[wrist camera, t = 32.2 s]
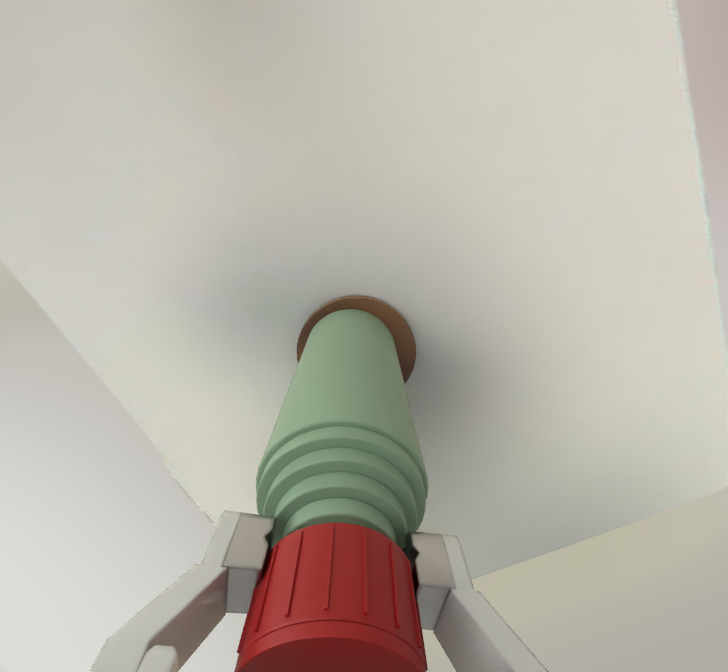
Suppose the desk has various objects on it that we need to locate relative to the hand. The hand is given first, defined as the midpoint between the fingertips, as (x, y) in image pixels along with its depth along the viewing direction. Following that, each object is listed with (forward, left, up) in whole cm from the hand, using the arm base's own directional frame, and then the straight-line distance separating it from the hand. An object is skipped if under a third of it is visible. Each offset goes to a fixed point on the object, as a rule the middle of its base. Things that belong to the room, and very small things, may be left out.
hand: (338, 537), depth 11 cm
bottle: (0, 0, -15) cm, 15 cm away
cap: (0, 0, +3) cm, 3 cm away
